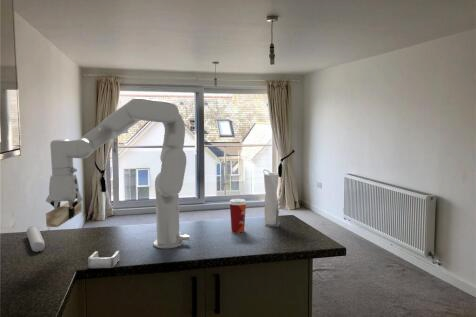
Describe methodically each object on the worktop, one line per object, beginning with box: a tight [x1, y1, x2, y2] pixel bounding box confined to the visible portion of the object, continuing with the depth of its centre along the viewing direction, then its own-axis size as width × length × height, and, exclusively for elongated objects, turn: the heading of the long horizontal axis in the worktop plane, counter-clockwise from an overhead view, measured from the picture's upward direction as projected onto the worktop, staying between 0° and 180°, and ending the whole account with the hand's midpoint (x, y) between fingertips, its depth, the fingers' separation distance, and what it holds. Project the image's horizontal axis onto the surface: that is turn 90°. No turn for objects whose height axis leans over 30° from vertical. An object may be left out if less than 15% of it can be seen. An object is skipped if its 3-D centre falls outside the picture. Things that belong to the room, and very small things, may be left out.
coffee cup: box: [228, 198, 247, 234], centre depth 179 cm, size 8×8×15 cm
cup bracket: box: [87, 250, 121, 269], centre depth 139 cm, size 9×8×4 cm
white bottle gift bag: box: [263, 169, 281, 228], centre depth 189 cm, size 8×8×28 cm
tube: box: [26, 225, 46, 253], centre depth 162 cm, size 5×5×25 cm
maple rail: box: [45, 199, 83, 228], centre depth 147 cm, size 4×22×5 cm, turn 1°
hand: (65, 217), depth 147 cm, fingers closed on maple rail, 4 cm apart
